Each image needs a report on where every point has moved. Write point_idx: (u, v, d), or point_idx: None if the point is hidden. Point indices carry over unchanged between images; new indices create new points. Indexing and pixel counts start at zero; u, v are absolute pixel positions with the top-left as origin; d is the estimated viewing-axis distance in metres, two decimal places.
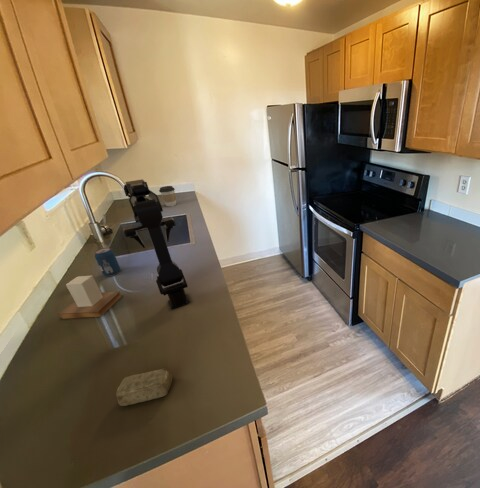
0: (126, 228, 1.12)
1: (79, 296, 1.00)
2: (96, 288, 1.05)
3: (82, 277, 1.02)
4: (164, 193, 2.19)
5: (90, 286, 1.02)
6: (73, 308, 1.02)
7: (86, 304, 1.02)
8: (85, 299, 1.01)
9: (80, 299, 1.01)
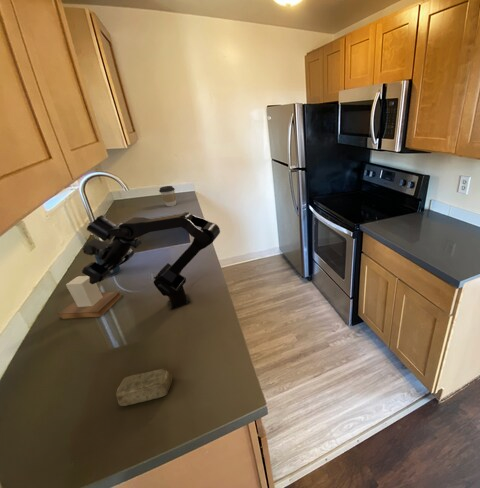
0: (97, 270, 0.90)
1: (79, 296, 1.00)
2: (96, 288, 1.05)
3: (82, 277, 1.02)
4: (164, 193, 2.19)
5: (90, 286, 1.02)
6: (73, 308, 1.02)
7: (86, 304, 1.02)
8: (85, 299, 1.01)
9: (80, 299, 1.01)
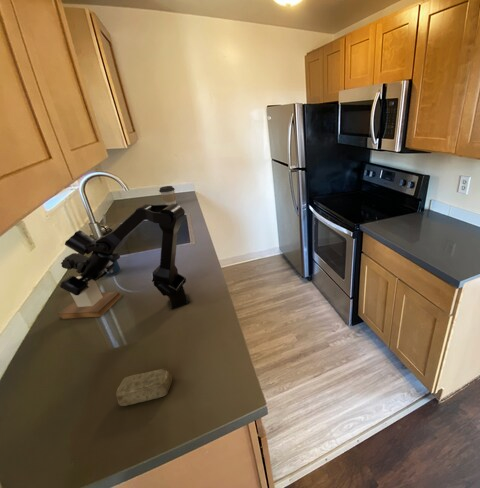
0: (75, 284, 0.92)
1: (79, 296, 1.00)
2: (96, 288, 1.05)
3: None
4: (164, 193, 2.19)
5: (90, 286, 1.02)
6: (73, 308, 1.02)
7: (86, 304, 1.02)
8: (85, 299, 1.01)
9: (80, 299, 1.01)
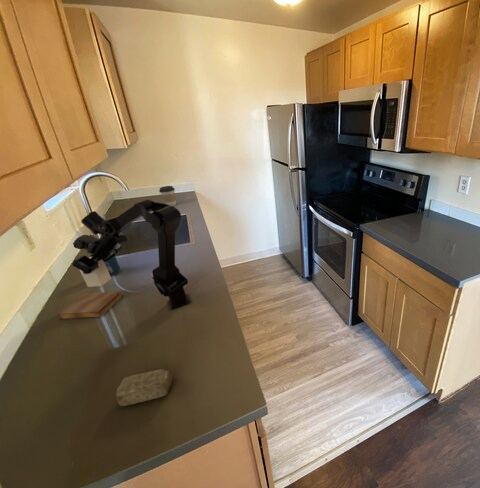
0: (86, 263, 0.97)
1: (89, 276, 1.05)
2: (105, 269, 1.09)
3: None
4: (164, 193, 2.19)
5: (99, 267, 1.07)
6: (73, 308, 1.02)
7: (96, 284, 1.07)
8: (95, 279, 1.06)
9: (90, 278, 1.06)
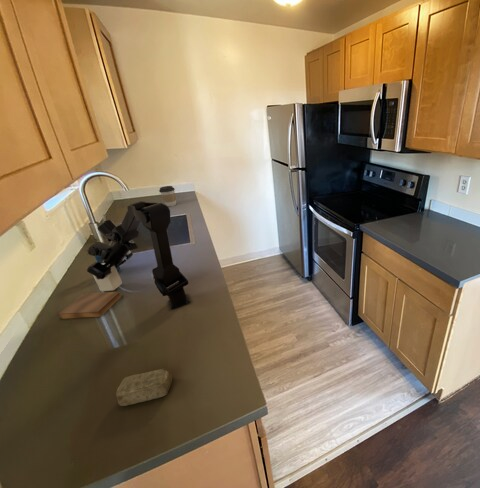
0: (100, 269, 1.03)
1: (102, 281, 1.11)
2: (117, 274, 1.15)
3: None
4: (164, 193, 2.19)
5: None
6: (73, 308, 1.02)
7: (108, 288, 1.13)
8: (107, 283, 1.12)
9: (103, 283, 1.12)
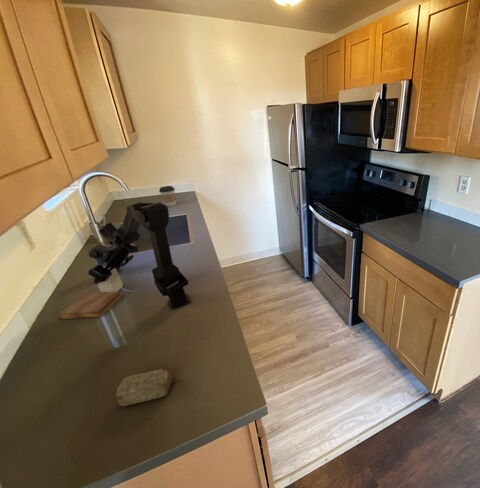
0: (101, 272, 1.03)
1: (103, 284, 1.12)
2: (118, 277, 1.16)
3: None
4: (164, 193, 2.19)
5: (112, 275, 1.13)
6: (73, 308, 1.02)
7: (109, 291, 1.13)
8: (108, 287, 1.12)
9: (104, 286, 1.12)
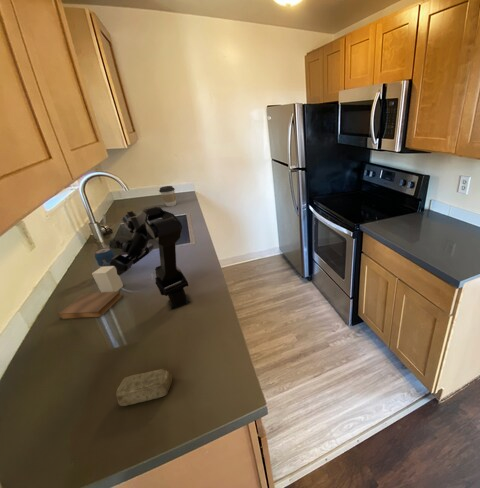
0: (122, 261, 1.02)
1: (103, 284, 1.12)
2: (118, 277, 1.16)
3: (105, 267, 1.13)
4: (164, 193, 2.19)
5: (112, 275, 1.13)
6: (73, 308, 1.02)
7: (109, 291, 1.13)
8: (108, 287, 1.12)
9: (104, 286, 1.12)
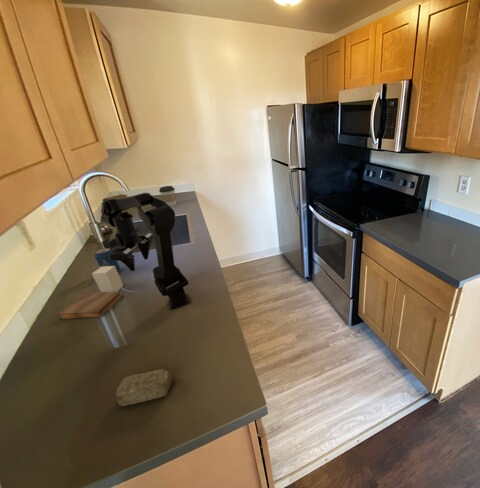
0: (118, 251, 0.98)
1: (103, 284, 1.12)
2: (118, 277, 1.16)
3: (105, 267, 1.13)
4: (164, 193, 2.19)
5: (112, 275, 1.13)
6: (73, 308, 1.02)
7: (109, 291, 1.13)
8: (108, 287, 1.12)
9: (104, 286, 1.12)
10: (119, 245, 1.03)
